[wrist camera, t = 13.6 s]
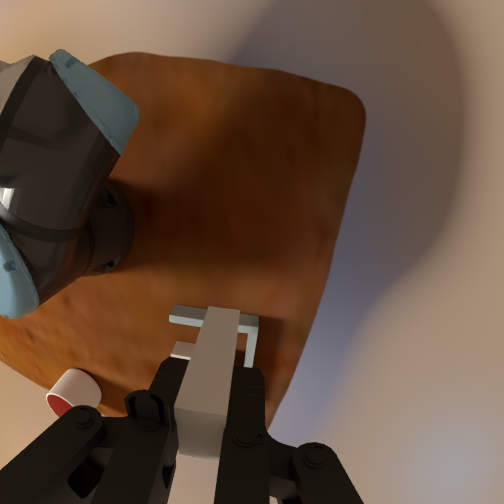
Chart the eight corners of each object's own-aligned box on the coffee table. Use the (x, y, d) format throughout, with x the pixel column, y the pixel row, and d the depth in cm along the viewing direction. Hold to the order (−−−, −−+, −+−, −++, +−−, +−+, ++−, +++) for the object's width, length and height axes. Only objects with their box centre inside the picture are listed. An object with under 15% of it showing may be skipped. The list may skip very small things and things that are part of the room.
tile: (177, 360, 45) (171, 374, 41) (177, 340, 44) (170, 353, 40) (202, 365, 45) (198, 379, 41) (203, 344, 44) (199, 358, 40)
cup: (76, 359, 47) (53, 387, 37) (110, 391, 49) (92, 422, 39) (61, 375, 49) (40, 400, 39) (92, 404, 50) (75, 432, 41)
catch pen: (177, 386, 47) (172, 399, 43) (175, 304, 42) (169, 314, 39) (245, 397, 47) (245, 410, 44) (258, 315, 42) (258, 327, 39)
